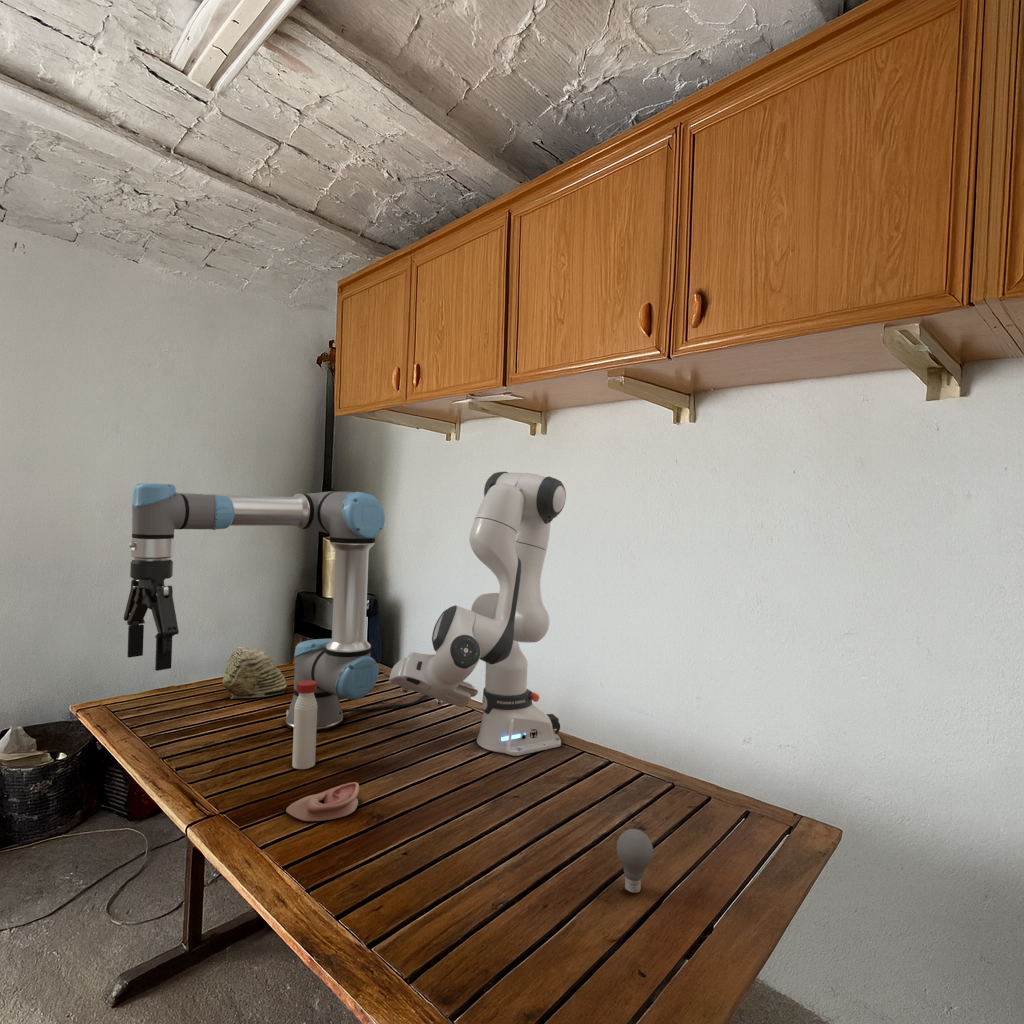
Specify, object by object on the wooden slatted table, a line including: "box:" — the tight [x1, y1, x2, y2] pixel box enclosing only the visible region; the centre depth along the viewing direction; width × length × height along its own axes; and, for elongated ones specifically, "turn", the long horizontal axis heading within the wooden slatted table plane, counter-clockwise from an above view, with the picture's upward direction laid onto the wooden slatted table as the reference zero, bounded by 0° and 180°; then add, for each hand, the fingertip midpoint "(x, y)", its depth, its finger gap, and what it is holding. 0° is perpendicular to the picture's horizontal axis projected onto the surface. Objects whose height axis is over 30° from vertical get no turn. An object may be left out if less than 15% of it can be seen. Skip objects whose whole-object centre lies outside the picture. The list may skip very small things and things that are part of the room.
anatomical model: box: [285, 781, 360, 822], centre depth 129 cm, size 13×4×12 cm
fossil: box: [222, 646, 288, 699], centre depth 198 cm, size 9×18×15 cm, turn 132°
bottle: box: [291, 692, 317, 770], centre depth 149 cm, size 5×5×19 cm
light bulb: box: [615, 828, 654, 894], centre depth 106 cm, size 6×6×10 cm
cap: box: [296, 680, 317, 693], centre depth 149 cm, size 5×5×2 cm
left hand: (148, 662), depth 129 cm, fingers open, 13 cm apart
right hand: (421, 695), depth 158 cm, fingers open, 8 cm apart
